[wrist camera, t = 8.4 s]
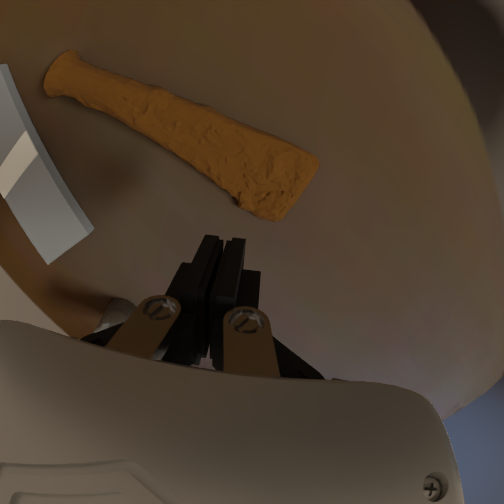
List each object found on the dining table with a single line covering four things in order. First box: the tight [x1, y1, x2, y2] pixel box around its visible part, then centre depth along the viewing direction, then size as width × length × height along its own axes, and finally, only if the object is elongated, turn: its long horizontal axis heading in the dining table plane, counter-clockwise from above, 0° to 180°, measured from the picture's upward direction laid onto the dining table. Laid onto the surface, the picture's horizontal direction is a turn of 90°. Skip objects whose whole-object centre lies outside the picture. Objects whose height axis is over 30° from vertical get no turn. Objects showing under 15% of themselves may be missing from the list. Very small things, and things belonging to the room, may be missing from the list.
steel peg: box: [94, 298, 137, 333], centre depth 21 cm, size 3×3×8 cm
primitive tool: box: [43, 50, 320, 221], centre depth 15 cm, size 19×6×4 cm, turn 60°
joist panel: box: [0, 64, 95, 265], centre depth 16 cm, size 18×7×1 cm, turn 27°
